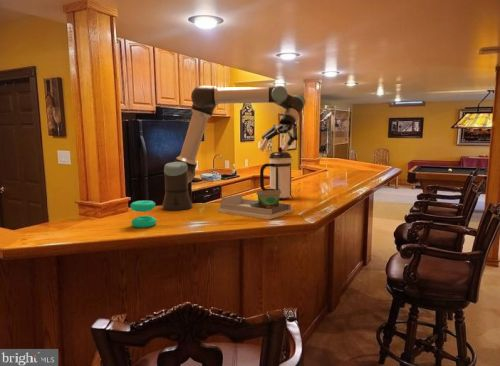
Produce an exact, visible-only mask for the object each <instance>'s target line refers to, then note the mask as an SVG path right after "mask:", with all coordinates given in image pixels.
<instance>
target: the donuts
mask: <svg viewBox="0 0 500 366" xmlns="http://www.w3.org/2000/svg"><path fill="white" fill-rule="evenodd" d="M129 206H130V209H131V211H134V212H139V213H143V212H149V211H152V210H154V209H155V207H156V202H155V201H153V200H146V199H145V200H136V201H133V202H131V203H130V205H129ZM130 223H131V224H130V225H131V226H132V227H133V228H139V229H141V228H142V229H143V228H144V229H145V228H150V227H153V226H155V225H156V224H157V218H155V217H153V216H152V215H140V216H137V217H134V218H133V219H132V220H131V221H130Z"/></svg>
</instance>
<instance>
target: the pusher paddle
mask: <svg viewBox="0 0 500 366" xmlns="http://www.w3.org/2000/svg"><path fill="white" fill-rule="evenodd" d="M250 206H251V207H255V208H259V203H258V202H256V203H255V202H251V203H250Z"/></svg>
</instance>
